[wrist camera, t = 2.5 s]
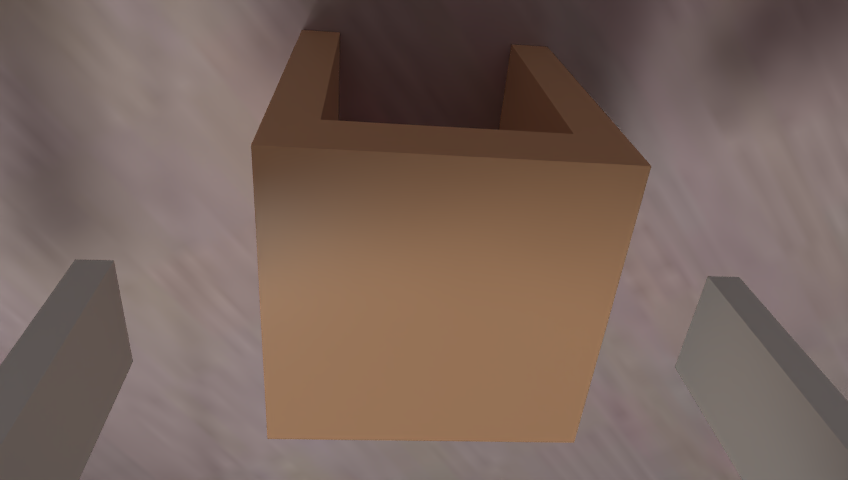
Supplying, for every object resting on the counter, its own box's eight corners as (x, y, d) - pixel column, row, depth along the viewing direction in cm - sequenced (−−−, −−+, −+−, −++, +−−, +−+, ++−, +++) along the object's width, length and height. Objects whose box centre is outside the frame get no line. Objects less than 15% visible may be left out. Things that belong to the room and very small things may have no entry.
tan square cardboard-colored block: (547, 46, 22) (651, 165, 13) (511, 252, 26) (573, 442, 17) (302, 29, 21) (250, 144, 13) (304, 244, 25) (267, 438, 17)
